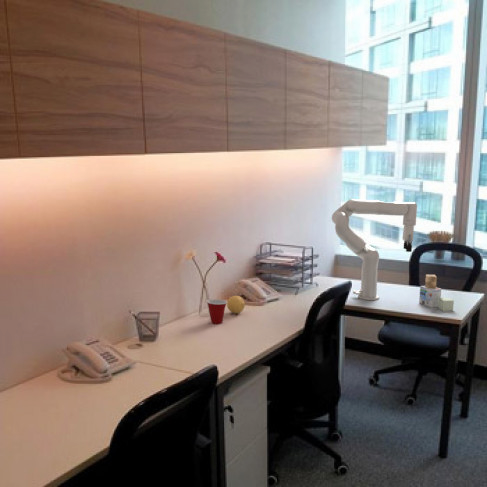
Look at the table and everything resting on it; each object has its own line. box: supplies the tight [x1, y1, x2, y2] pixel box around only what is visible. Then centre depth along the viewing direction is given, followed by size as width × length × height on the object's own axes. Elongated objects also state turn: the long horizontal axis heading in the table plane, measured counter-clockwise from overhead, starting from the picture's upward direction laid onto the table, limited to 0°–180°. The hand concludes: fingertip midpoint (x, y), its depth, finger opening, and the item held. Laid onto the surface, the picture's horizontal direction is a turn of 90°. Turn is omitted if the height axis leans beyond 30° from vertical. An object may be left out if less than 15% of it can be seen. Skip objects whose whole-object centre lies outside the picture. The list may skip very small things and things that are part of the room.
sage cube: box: [437, 297, 455, 312], centre depth 297 cm, size 6×6×6 cm
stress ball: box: [226, 295, 246, 315], centre depth 290 cm, size 10×10×10 cm
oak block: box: [424, 274, 438, 288], centre depth 303 cm, size 5×5×7 cm
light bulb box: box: [418, 285, 442, 308], centre depth 305 cm, size 11×7×11 cm, turn 25°
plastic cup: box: [206, 298, 228, 325], centre depth 274 cm, size 11×11×12 cm
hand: (407, 250), depth 318 cm, fingers open, 9 cm apart
